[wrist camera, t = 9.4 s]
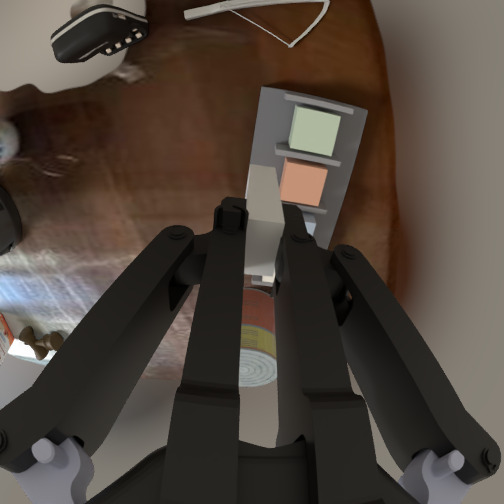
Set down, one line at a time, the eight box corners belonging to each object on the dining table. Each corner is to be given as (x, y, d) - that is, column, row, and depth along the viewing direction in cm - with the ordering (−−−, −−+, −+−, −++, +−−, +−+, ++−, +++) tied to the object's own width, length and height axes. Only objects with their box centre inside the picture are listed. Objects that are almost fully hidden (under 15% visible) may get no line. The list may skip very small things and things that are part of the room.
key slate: (270, 238, 36) (270, 249, 34) (276, 207, 33) (277, 217, 31) (304, 243, 36) (306, 255, 34) (313, 212, 33) (316, 223, 31)
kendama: (73, 345, 63) (38, 346, 67) (51, 320, 58) (19, 325, 62) (65, 361, 59) (30, 360, 62) (41, 337, 53) (10, 339, 57)
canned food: (207, 320, 51) (196, 376, 41) (226, 278, 45) (216, 340, 35) (263, 337, 53) (262, 392, 44) (291, 299, 47) (295, 360, 37)
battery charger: (107, 63, 26) (49, 70, 17) (99, 40, 24) (41, 40, 14) (155, 40, 25) (107, 31, 15) (147, 15, 22) (98, -1, 13)
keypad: (236, 261, 43) (233, 282, 39) (261, 86, 28) (261, 87, 24) (314, 272, 43) (318, 293, 40) (362, 108, 29) (376, 114, 25)
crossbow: (315, -40, 18) (319, -46, 17) (333, 46, 26) (339, 44, 24) (178, -24, 20) (174, -29, 18) (196, 63, 27) (193, 62, 25)
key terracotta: (278, 190, 33) (279, 199, 31) (285, 155, 30) (287, 162, 28) (314, 196, 33) (318, 206, 31) (323, 162, 31) (327, 170, 29)
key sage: (288, 142, 30) (290, 147, 27) (295, 104, 27) (298, 107, 25) (326, 149, 30) (331, 156, 28) (335, 113, 27) (340, 116, 25)
